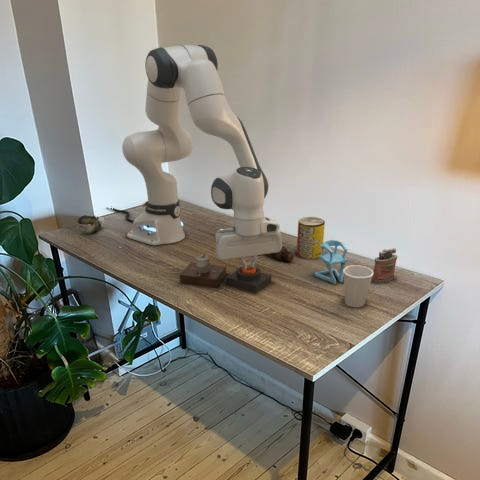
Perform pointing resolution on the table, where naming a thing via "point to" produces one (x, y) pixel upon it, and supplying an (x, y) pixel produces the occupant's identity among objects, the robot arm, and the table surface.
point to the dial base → (203, 276)
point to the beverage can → (310, 237)
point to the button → (249, 271)
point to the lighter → (384, 266)
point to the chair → (332, 261)
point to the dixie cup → (356, 284)
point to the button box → (248, 280)
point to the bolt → (284, 254)
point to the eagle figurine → (93, 221)
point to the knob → (202, 263)
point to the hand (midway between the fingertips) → (248, 268)
